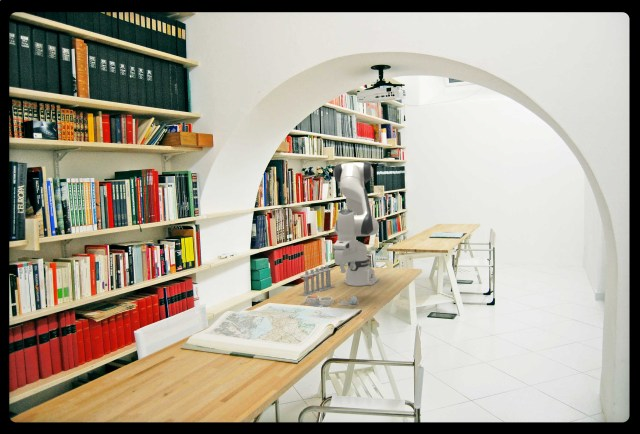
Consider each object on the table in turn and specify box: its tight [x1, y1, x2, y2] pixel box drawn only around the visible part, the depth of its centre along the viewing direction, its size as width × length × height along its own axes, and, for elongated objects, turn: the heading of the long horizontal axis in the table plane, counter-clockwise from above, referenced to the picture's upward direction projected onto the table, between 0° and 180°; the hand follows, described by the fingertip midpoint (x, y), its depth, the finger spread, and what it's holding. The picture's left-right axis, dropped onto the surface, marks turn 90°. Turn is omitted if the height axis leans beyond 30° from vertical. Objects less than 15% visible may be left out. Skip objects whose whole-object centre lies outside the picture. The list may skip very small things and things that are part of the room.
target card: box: [299, 301, 336, 308], centre depth 240 cm, size 10×15×1 cm, turn 57°
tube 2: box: [319, 296, 334, 307], centre depth 239 cm, size 7×7×3 cm
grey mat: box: [337, 300, 361, 307], centre depth 238 cm, size 6×10×1 cm, turn 57°
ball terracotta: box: [309, 293, 319, 299], centre depth 243 cm, size 4×4×4 cm
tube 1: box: [305, 294, 321, 304], centre depth 244 cm, size 7×7×3 cm
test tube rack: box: [299, 264, 336, 297], centre depth 267 cm, size 25×4×13 cm, turn 141°
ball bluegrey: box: [349, 295, 359, 304], centre depth 236 cm, size 4×4×4 cm
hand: (347, 271), depth 236 cm, fingers open, 8 cm apart
